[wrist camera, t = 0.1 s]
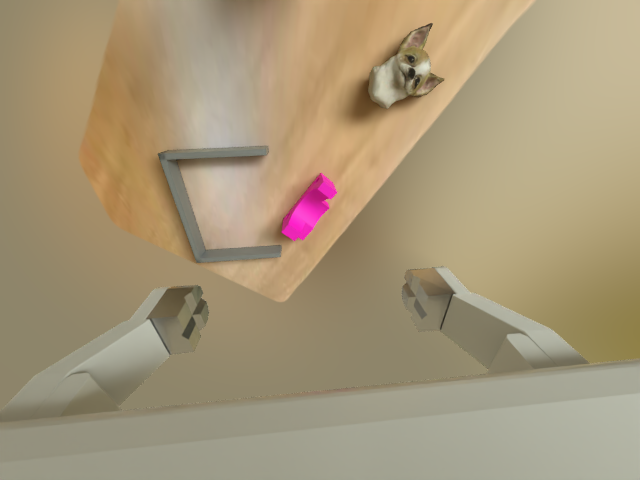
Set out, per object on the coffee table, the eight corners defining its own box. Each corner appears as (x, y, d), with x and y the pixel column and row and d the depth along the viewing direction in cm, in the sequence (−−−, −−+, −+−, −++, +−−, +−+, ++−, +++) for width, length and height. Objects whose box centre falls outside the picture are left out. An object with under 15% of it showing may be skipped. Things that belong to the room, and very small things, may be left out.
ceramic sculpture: (364, 61, 38) (452, 5, 36) (351, 69, 45) (422, 23, 44) (386, 125, 43) (464, 79, 41) (371, 123, 50) (436, 84, 49)
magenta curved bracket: (302, 231, 62) (303, 246, 56) (283, 218, 60) (281, 232, 54) (340, 188, 57) (345, 199, 51) (320, 172, 55) (323, 181, 49)
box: (167, 150, 50) (157, 153, 46) (268, 145, 51) (265, 148, 48) (202, 254, 63) (196, 262, 60) (281, 248, 64) (280, 257, 61)
